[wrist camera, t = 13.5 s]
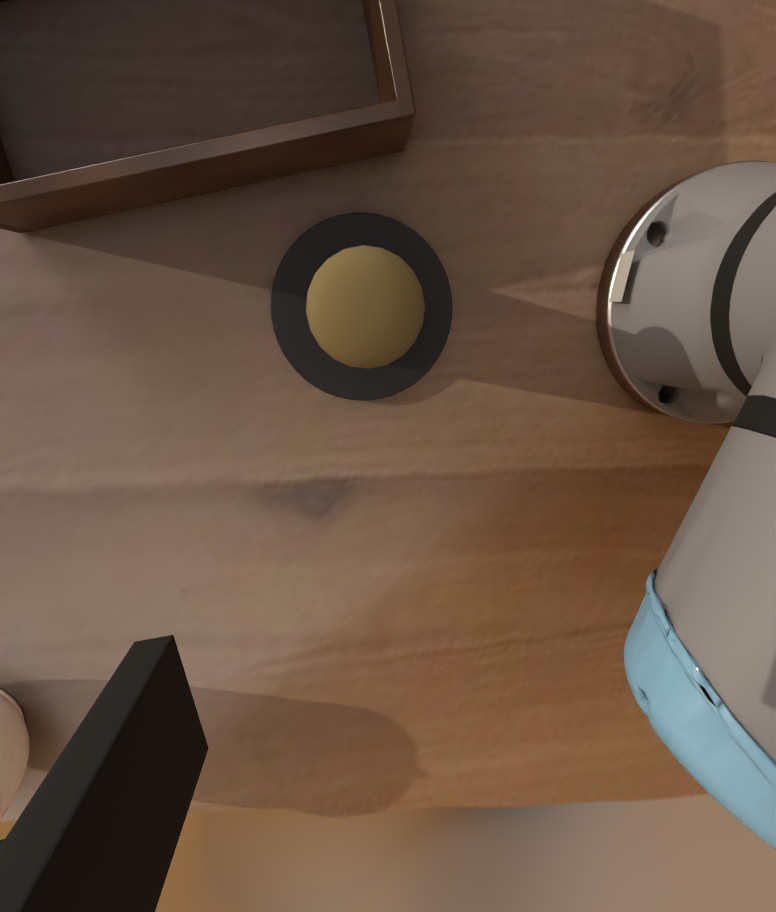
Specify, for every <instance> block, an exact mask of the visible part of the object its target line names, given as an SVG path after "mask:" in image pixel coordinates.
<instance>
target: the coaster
mask: <svg viewBox="0 0 776 912" xmlns="http://www.w3.org/2000/svg"><path fill="white" fill-rule="evenodd" d="M362 245H365V246H372V247H380V248H383V249H385V250H387V251H389V252H391V253H393V254H395V255H397V256H399V257H400V258H401V259H402V260H403V261H404V262H405V263H406V264H407V265H408V266H409V267H410V268H411V269H412V270H413V271H414V273H415V275H416V277H417V279H418V281H419V283H420V285H421V287H422V291H423V297H424V303H425V311H424V319H423V326H422V328H421V330H420V332H419V334H418V336H417V339H416V341H415V343H414V344H413V345H412V346H411V347H410V348H409V349H408V350H407V351H406V353H405V354H404V355H403V356H402V357H400V358H398V359H396V360H395V361H393V362H391V363H389V364H388V365H385V366H380V367H375V368H370V369H366V368H358V367H350V366H348V365H346V364H344V363H341V362H339V361H337V360H335V359H333V358H332V357H331V356H330V355H329V354H328V353H327V352H326V351H324V350H323V349H322V348H321V347H320V346H319V344H318V342H317V341H316V339H315V337H314V335H313V334H312V332H311V330H310V326H309V322H308V318H307V313H306V305H307V292H308V289H309V287H310V284H311V282H312V280H313V277H314V275H315V273H316V272H317V271H318V269H319V268H320V267H321V266H322V265H323V264H324V262H325V261H326V260H327V259H328V258H330V257H332V256H333V255H335V254H337V253H338V252H340V251H342V250H343V249H347V248H352V247H357V246H362ZM271 317H272V323H273V328H274V332H275V335H276V338H277V341H278V343H279V345H280V347H281V349H282V352H283V353H284V355H285V356H286V358H287V360H288V361H289V363H290V364H291V365H292V366H293V367H294V369H295V370H296V371H297V372H298V373H299V374H300V375H301V376H302V377H303V378H304V379H305V380H307V381H308V382H309V383H311V384H312V385H314V386H315V387H317V388H319V389H320V390H322V391H324V392H326V393H329V394H331V395H334V396H337V397H341V398H345V399H352V400H374V399H380V398H384V397H388V396H391V395H394V394H396V393H398V392H401V391H403V390H405V389H406V388H408V387H410V386H411V385H413V384H414V383H415V382H417V381H418V380H419V379H420V378H422V377H423V376H424V375H425V373H426V372H427V371H428V370H429V369H430V368H431V367H432V365H433V364H434V363H435V361H436V360H437V358H438V357H439V355H440V353H441V351H442V350H443V347H444V345H445V342H446V340H447V337H448V333H449V329H450V324H451V317H452V299H451V290H450V286H449V282H448V278H447V276H446V273H445V270H444V268H443V266H442V264H441V262H440V260H439V258H438V256H437V255H436V254H435V252H434V251H433V249H432V248H431V247H430V246H429V244H428V243H427V242H426V241H425V240H424V239H423V238H422V237H421V236H420V235H418V234H417V233H416V232H415V231H414V230H412V229H411V228H409V227H407V226H406V225H404V224H403V223H401V222H398V221H396V220H394V219H392V218H389V217H385V216H382V215H378V214H371V213H349V214H342V215H339V216H335V217H332V218H329V219H327V220H325V221H322V222H320V223H318V224H317V225H315V226H313V227H312V228H310V229H309V230H307V231H306V232H305V233H304V234H303V235H302V236H300V237H299V238H298V239H297V240H296V241H295V243H294V244H293V245H292V246H291V247H290V249H289V250H288V252H287V253H286V255H285V256H284V257H283V259H282V262H281V264H280V266H279V268H278V270H277V273H276V276H275V279H274V283H273V288H272V294H271Z"/></svg>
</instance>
